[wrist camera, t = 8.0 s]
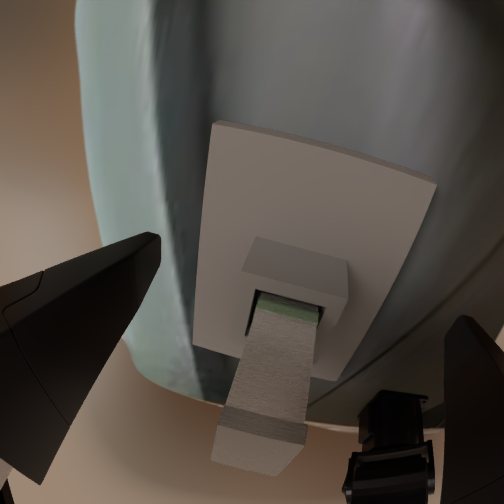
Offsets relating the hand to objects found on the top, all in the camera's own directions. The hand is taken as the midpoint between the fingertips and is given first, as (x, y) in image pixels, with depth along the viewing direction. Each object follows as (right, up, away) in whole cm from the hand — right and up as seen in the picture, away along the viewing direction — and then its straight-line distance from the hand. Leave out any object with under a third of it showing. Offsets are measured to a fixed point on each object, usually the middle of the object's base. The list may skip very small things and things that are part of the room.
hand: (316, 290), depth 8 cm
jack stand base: (+1, -1, +16) cm, 16 cm away
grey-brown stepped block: (0, -3, +12) cm, 12 cm away
